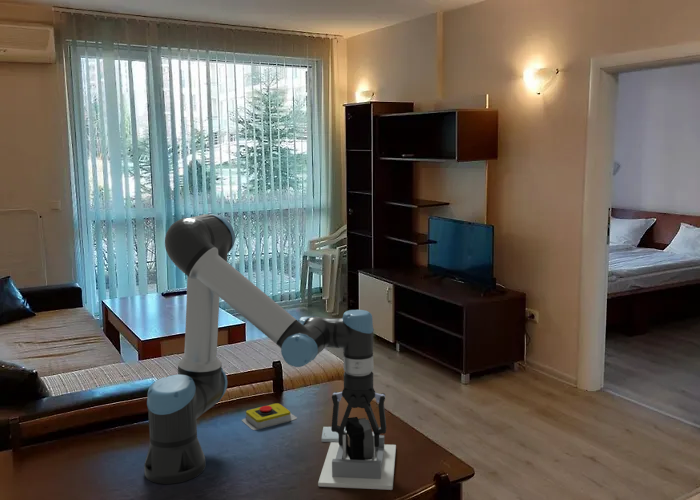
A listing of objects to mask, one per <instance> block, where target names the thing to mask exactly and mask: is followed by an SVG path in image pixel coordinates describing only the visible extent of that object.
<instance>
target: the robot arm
mask: <svg viewBox="0 0 700 500" xmlns="http://www.w3.org/2000/svg"><path fill="white" fill-rule="evenodd" d="M235 242H236V234H235V230H234V228H233V226H232V224H231V223H230V222H229V220H228V219H226V218H225V217H224V216H222V215H219V214H215V213H214V214H213V213H212V214H211V213H203V214H200V215H195V216H191V217H185V218H181V219H179V220H178V219H177V220H176V221H174V222H173V223H172V224H171V225H170V227H169V228H168V230H167V231H166V232H165V237H164V248H165V251H166V254H167V255H168V257H169V258H170V260H171V261H172V263H173V264H174V265H175V266H176V267H177V268H178V269H179V270H180V272H182V273H183V274H184V275H186V276H187V278H186V279H187V281H186V282H187V283H186V306H185V309H186V310H185V328H184V329H185V330H184V332H185V333H184V335H185V336H184V352H183V353H184V354H183V355H184V356H183V357H182V358H181V359H180V360H179V361H178V363H177V374H171V375H170V374H169V375H167V376H166V377H164V376H163V377H161V378H158V379H157V380H155V381H153V383H151V384H150V386H149V388H148V391H147V399H146V406H147V412H148V414H147V415H148V417H147V418H148V427H149V428H148V430H149V433H148V434H149V447H148V451H147V453H146V458H145V462H144V465H143V466H144V467H143V469H144V477H145V478H146V479H147V480H148V481H150V482H152V483H155V484H161V485H162V484H163V485H167V484H168V485H169V484H170V485H172V484H178V483H182V482H184V483H185V482H187V481H189V480H193V479H194V478H196V477H198V476H200V474H202V473H203V472H204V471H205V469H206V456H205V454H204V450H203V449H202V448H203V447H202V446H201V443H200V442H199V441H200V440H199V439H198V428H197V427H198V426H197V419H198V418H200V416H202V415H203V414H205V413H206V412H207V411H208V410H210V409H211V408H213V407H214V406H215V405H217V404H218V403H219V402H220V401H221V400H222V398H223V397H224V395H225V394H226V392H227V388H228V377H227V374H226V372H225V371H224V370H223V367H222V366H223V365H222V364H223V362H222V361H221V359H219V358H218V357H217V355H218V354H217V353H218V338H219V337H218V334H219V318H220V317H219V314H220V313H219V312H220V299H221V300H223V302H225V304H227V305H229V306H230V307H231V308H232V309H233V310H234V311H236V312H237V313H238V314H240V315H241V316H242V317H243V319H245V320H246V321H247V322H249V323H250V324H252V325H253V327H255V328H256V329H258V330H259V331H260V332H261V333H262V334H264V335H265V336H266V337H267V338H269V339H270V340H271V341H272V342H273V343H275V344H276V346H278V347H279V348H280V354H281V356H282V359H283V360H284V362H285V363H286V364H288V365H290V366H291V367H294V368H301V367H304V366H306V365H308V364H309V363H311V362H312V361H314V360H315V359H316V357H317V356H318V355H319V354H320V353H321V352H322V351H323V350H324V349H326V348H332V349H342V351H343V352H342V354H343V371H344V372H343V389H342V391H340V392H337V391H334V392H333V393H332V396H331V400H332V403H333V407H332V408H333V409H332V416H331V417H332V418H331V426H330V427H331V430H332V432H337V433H338V435H339V442H338V443H339V445H340V446H343V459H346V457H347V431H344V429H345V426H346V423H347V420H348V418H350V414H351V411H352V409H356V408H357V409H358V408H359V409H364V411H365V414H366V416H367V420H369V423H370V425H371V428H372V434H373V442H374V453H373V458H372V459H371V460H375V447H378V446H379V435H382V434H383V435H385V434H386V433H387V421H386V411H385V409H386V408H385V400H386V394H385V393H384V392H382V393H378V392H376V391H375V387H374V372H373V371H374V332H375V331H374V323H373V322H374V321H373V315H372V313H371V312H369V311H368V310H366V309H349V310H346V311H345V312H344V313H343V315H342V317H340V318H338V317H326V316H325V317H324V316H317V315H316V316H315V315H311V316H301V317H300V318H299V319H297V318H295V317H294V316H293V315H292V314H290V313H289V312H288V311H287V310H286V309H284V308H283V307H282V306H281V305H280V304H278V303H277V302H276V301H275V300H274V299H273V298H271V297H270V296H268V295H267V294H266V293H265V292H264V291H262V289H260V288H259V287H258V286H257V285H255V284H254V283H253V282H252V281H251V280H249V279H248V278H247V277H245V276H244V275H243V274H242V273H241V272H240V271H238V270H237V269H236V268H235V267H234V266H232V265H231V264H230V263H228V256H229V254H228V253H230V252H231V251H232V250H233V247H234V246H235ZM342 397H343V398H344V400H345V402H346V403H347V406H346V408H345V411H344V414H343V417H342V420H341V423H340V425H338V420H339V409H340V402H341V400H342ZM374 398H375V402H376V403H378V415H379V422H380V423H379V424H378V421H377V419H376V416H375V413H374V412H373V407H372V404H371V402H372V401H373V400H374ZM379 425H380V426H379Z"/></svg>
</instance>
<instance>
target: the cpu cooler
mask: <svg viewBox="0 0 700 500" xmlns="http://www.w3.org/2000/svg"><path fill="white" fill-rule="evenodd" d="M345 431H347V454H348V456H349V458H350V460H371V459H372V458H373V453H374V442H373V434H372V432H373V430H372V427H371V424H370V422H369V419H366V417H362V418H358V416H353V417H348V420H347V423H346V426H345Z"/></svg>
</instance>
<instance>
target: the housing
mask: <svg viewBox="0 0 700 500" xmlns="http://www.w3.org/2000/svg"><path fill="white" fill-rule="evenodd" d="M396 454H397V445H396V444H385V434H383V435H382V434H380V435H379V446H378V447H375V460H350V458H349V456H348V454H347V457H346V459H343V446H340V445H339V442H329V447H328V450H327V454H326V456H325V460H324V463H323V466H322V469H321V473H320V476H319V479H318V482H317V485H318V487H323V488H345V489H364V490H365V489H367V490H370V489H371V490H388V491H389V490H390V491H392V490H393V488H394V477H395V475H394V474H395V464H396Z"/></svg>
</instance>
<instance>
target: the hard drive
mask: <svg viewBox="0 0 700 500" xmlns="http://www.w3.org/2000/svg"><path fill="white" fill-rule="evenodd" d="M322 427H323V428H322V433H321V439H320V440H321V441H320V442H321V443H331V442H336V443H339V435H338V433H337V432H332V430H331V427H332V426H322ZM344 431H345V429H344Z"/></svg>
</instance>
